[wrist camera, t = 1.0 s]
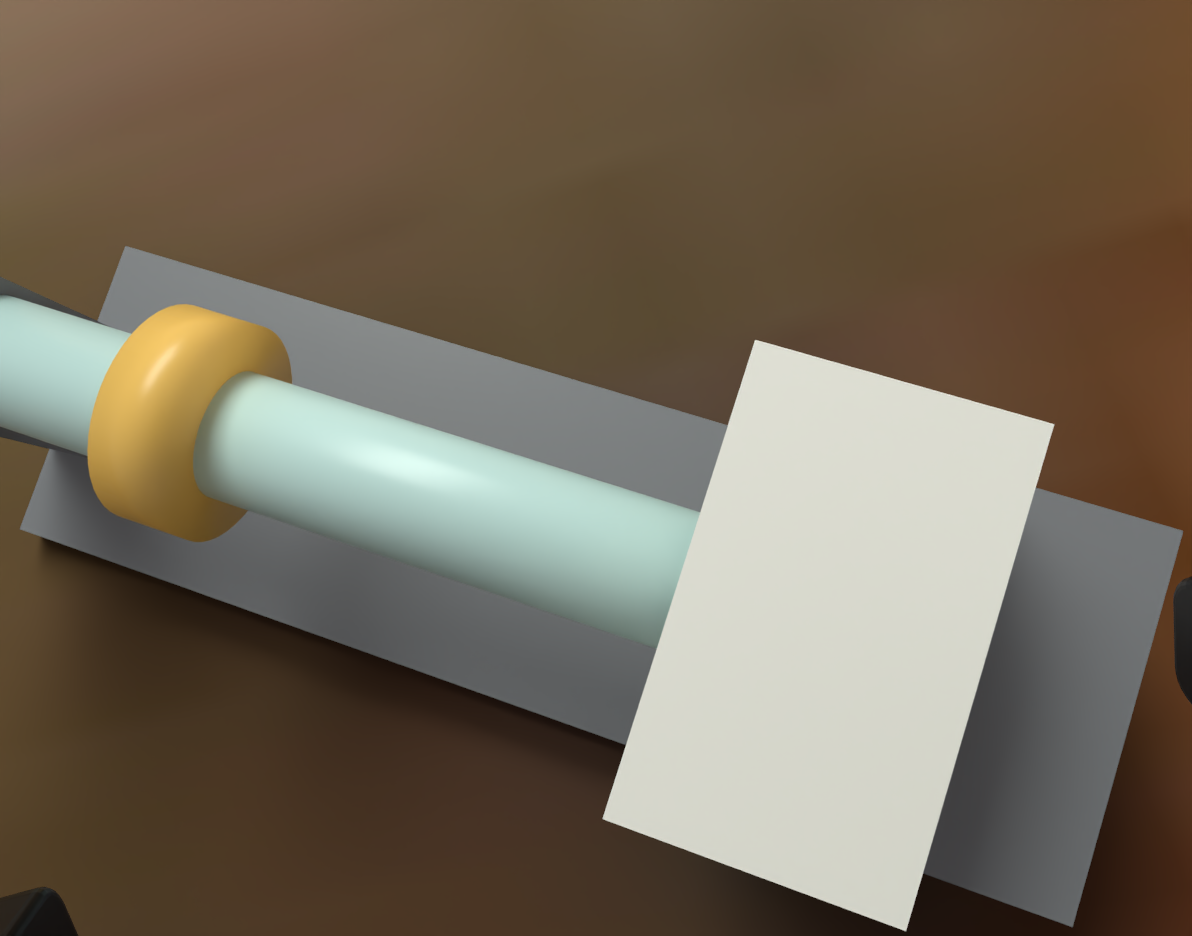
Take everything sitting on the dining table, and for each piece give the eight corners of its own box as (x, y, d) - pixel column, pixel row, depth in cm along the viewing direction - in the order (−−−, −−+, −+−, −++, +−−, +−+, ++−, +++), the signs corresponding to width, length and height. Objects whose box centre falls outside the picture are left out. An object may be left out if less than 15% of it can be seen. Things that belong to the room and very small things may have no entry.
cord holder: (1061, 530, 20) (1216, 486, 13) (966, 861, 19) (1077, 986, 13) (141, 255, 23) (-105, 108, 16) (38, 531, 22) (-258, 495, 16)
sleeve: (933, 502, 18) (1054, 423, 11) (844, 803, 17) (905, 931, 10) (754, 448, 18) (754, 340, 11) (662, 739, 18) (602, 819, 11)
